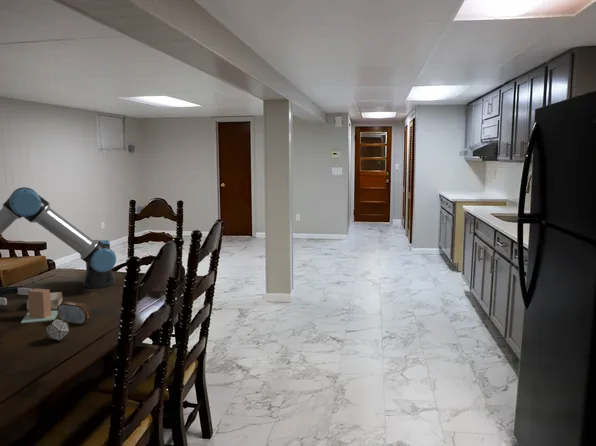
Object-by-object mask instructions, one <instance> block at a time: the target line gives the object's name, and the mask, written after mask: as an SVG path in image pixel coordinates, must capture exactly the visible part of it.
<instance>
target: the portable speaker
mask: <svg viewBox="0 0 596 446" xmlns="http://www.w3.org/2000/svg"><path fill="white" fill-rule="evenodd" d="M56 310H57V312H58V314H57V316H58V318H59V320H63V321H64V320H65V319H66V321H65V322H66V323H69V324H75V325H80V326H81V325H85V324H87V323H88V322H90V320H91V319H92V312H91V310H90V308H89V306H88V305H87V304H85V303H82V302H77V301H71V300H70V301H69V300H65V301H62V302H61V304H60V305H59V306H58V308H57V309H56Z"/></svg>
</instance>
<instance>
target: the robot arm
mask: <svg viewBox="0 0 596 446" xmlns="http://www.w3.org/2000/svg"><path fill="white" fill-rule="evenodd" d="M22 218H24V219H25V220H26V221H28V222H30V223H37V224H38V225H39V226H41V227H42V228H44V229H45V230H46V231H48V232H49V233H51V235H54V236H55V237H56V238H58V240H60V241H61V242H63V243H64V244H65V245H67V246H69V247H70V248H72V249H73V250H74V251H75V252H76V253H78V254H79V256H80V259H81V260H82V261H84V262H85V265H86V266H85V268H86V270H85V275H84V279H83V287H84V288H87V289H103V288H107V287H113V286H114V285H115V284H116V278H115V276H114V273H113V271H112V269H113V268H114V266H115V265H116V263H117V256H116V253H115V252H114V251H113V250H112V249H111V243H110V240H107V239H106V240H104V239H102V240H99V239H92V238H90V237H89V236H88V235H86V234H85V233H84V232H83V231H81V230H80V229H79V228H77V227H76V226H75V225H73V224H72V223H71V222H69V221H68V220H66V219H65V217H63V216H61V215H60V214H59V213H58V212H56V211H55V210H54V209H52V207H51V206H50V202H49V201H47V200H46V199H45V198H44V197H42V196H40V195H39V194H38V193H37V192H36V191H35V189H32V188H30V187H25V186H24V187H18V188H17V189H14V191H12V193H11V195H9V197H8V198H7V200H6V201H5V202H4V203H3V204H2V208H0V235H1V234H3V233H4V232H5V231H6V230H7V229H8V228H9V227H10V226H12V224H13V223H14V222H15V221H16V220H17V219H22ZM32 289H33V288H27V287H26V288H25V287H23V286H22V285H15V286H0V306H6V305H8V301H7V300H8V299H7V297H2V296H6V295H7V296H8V295H22V296H23V295H24V296H28V291H29V290H32Z"/></svg>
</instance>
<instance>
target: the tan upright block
mask: <svg viewBox="0 0 596 446" xmlns="http://www.w3.org/2000/svg"><path fill="white" fill-rule="evenodd" d="M31 289H32V290H29V291H28V295H27V298H28V299H27V301H29V311H28V313H29V315H30V317H35V318H46V317H48V316H51V311H52V309H51V302H50V293H51V291H50V290H51V289H48V288H46V289H45V288H31Z"/></svg>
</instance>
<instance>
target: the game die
mask: <svg viewBox="0 0 596 446" xmlns="http://www.w3.org/2000/svg"><path fill="white" fill-rule="evenodd" d="M65 321H66V319H65V320H64V321H63V320H61V319H58V318H57V316H56V318H55V320H53V321H49V325H48V326H44V327H43V329H45V330H46V334H47V335H46V336H45V337H46V338H49V341H52V340H55V341H58V343H60V344H61V340H63V338H67V337H66V336H67V335H68V334H70V333H73V331H71V330H70V329H69V328H70V327H69V324H70V323H67V322H65Z"/></svg>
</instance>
